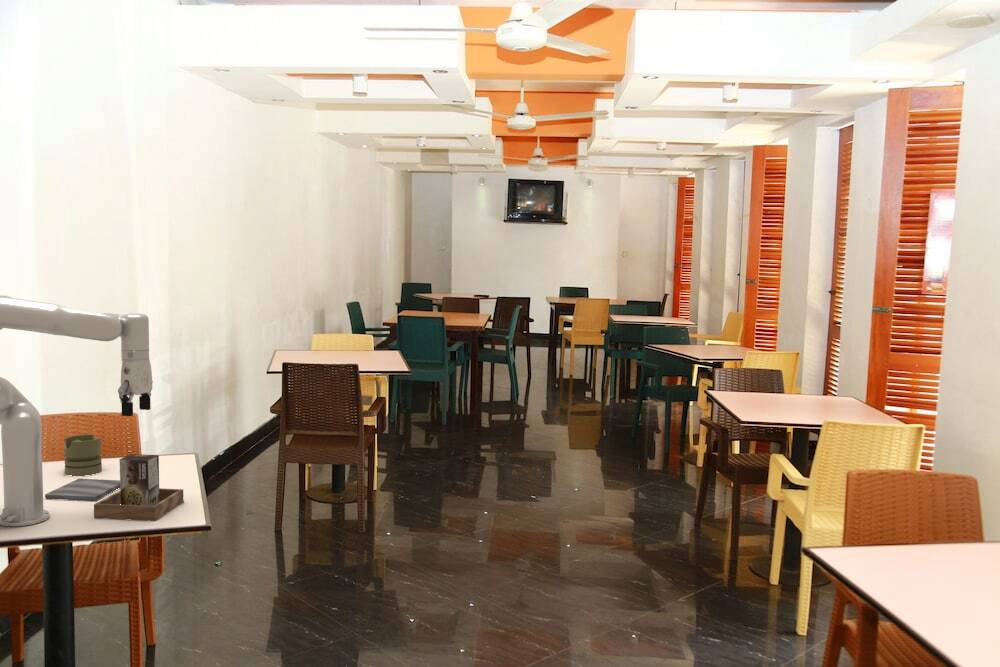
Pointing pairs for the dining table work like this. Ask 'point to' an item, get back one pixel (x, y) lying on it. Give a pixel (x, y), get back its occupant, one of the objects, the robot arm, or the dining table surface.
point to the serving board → (84, 489)
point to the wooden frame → (138, 506)
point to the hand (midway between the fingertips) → (136, 412)
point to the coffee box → (139, 480)
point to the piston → (82, 455)
